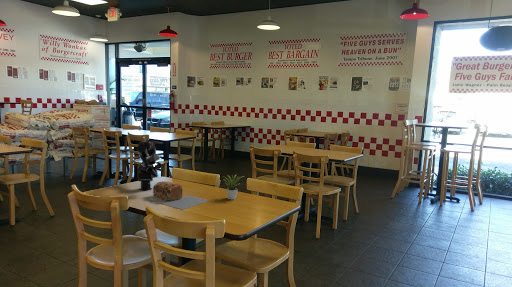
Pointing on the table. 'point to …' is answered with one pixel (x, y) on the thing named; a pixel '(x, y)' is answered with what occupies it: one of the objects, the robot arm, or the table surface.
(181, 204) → the serving mat
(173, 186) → the bread
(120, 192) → the table surface
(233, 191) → the house plant
